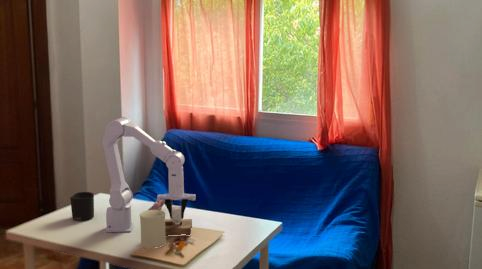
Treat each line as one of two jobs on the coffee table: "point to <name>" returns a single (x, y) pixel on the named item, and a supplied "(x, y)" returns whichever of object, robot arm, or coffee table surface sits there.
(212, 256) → the coffee table surface
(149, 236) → the can
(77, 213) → the pen holder
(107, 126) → the robot arm
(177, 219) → the steel peg
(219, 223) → the coffee table surface
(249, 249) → the coffee table surface
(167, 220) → the keyhole plate
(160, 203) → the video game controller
